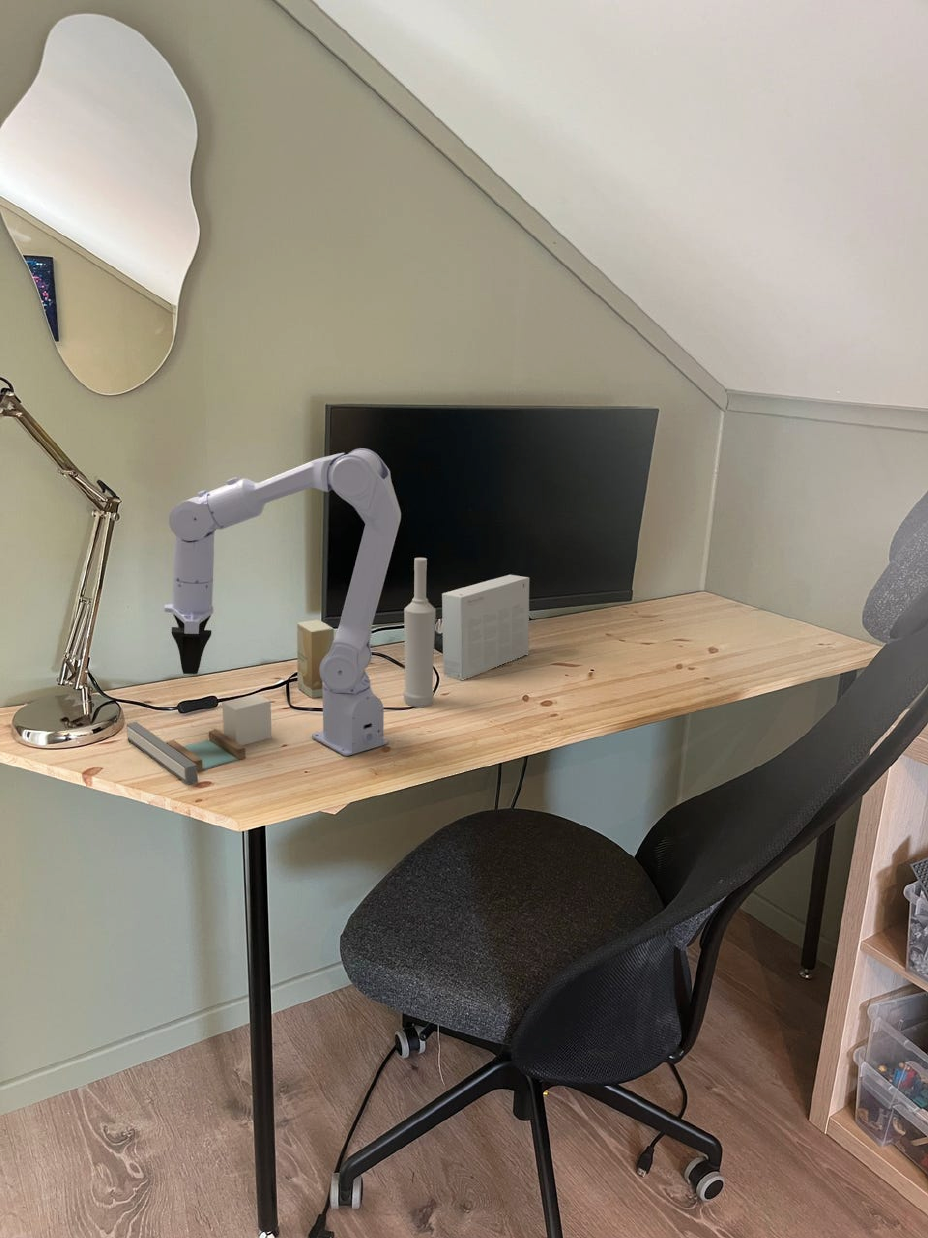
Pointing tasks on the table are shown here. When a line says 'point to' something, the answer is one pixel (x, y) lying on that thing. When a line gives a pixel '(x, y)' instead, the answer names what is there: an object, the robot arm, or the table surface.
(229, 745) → the facing slot
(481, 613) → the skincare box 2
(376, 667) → the table surface
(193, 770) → the rail
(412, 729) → the table surface
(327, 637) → the skincare box
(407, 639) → the bottle
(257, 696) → the carton
